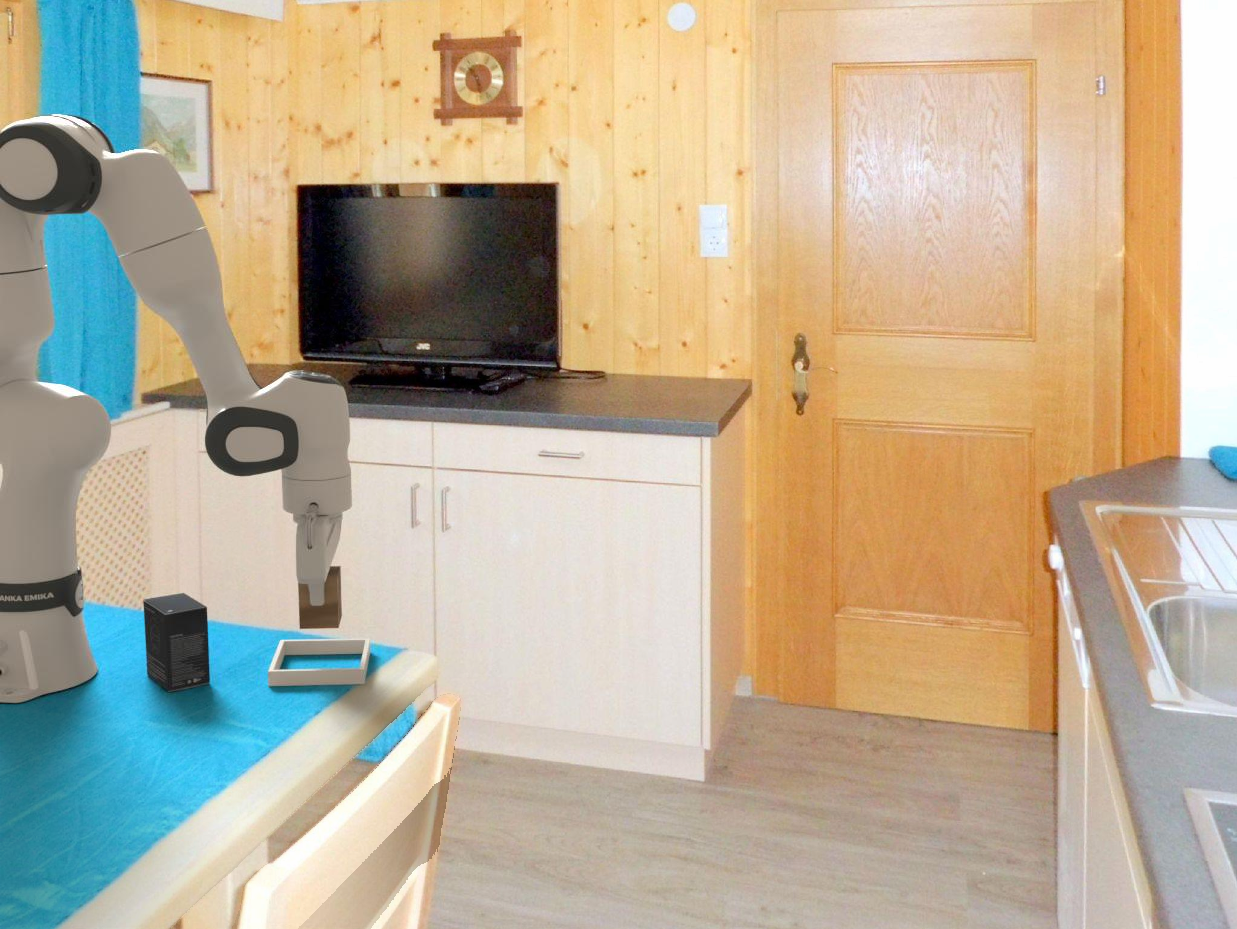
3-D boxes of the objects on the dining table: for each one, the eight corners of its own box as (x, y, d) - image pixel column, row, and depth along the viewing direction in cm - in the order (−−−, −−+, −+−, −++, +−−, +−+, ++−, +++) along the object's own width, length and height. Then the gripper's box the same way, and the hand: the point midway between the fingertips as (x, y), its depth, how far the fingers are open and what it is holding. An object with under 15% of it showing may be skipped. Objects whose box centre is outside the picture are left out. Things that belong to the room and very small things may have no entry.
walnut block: (338, 628, 176) (337, 577, 174) (299, 628, 175) (297, 577, 174) (341, 615, 181) (340, 566, 179) (304, 616, 180) (302, 566, 179)
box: (211, 684, 173) (208, 605, 171) (168, 693, 170) (164, 614, 167) (188, 666, 179) (184, 591, 177) (145, 675, 175) (141, 598, 173)
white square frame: (268, 686, 173) (267, 671, 172) (280, 653, 184) (280, 639, 184) (364, 684, 174) (364, 669, 174) (370, 652, 186) (370, 638, 185)
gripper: (334, 514, 164) (337, 621, 167) (348, 477, 184) (350, 573, 187) (281, 515, 164) (285, 622, 167) (301, 477, 184) (304, 574, 187)
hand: (320, 596), depth 177 cm, fingers closed on walnut block, 5 cm apart
